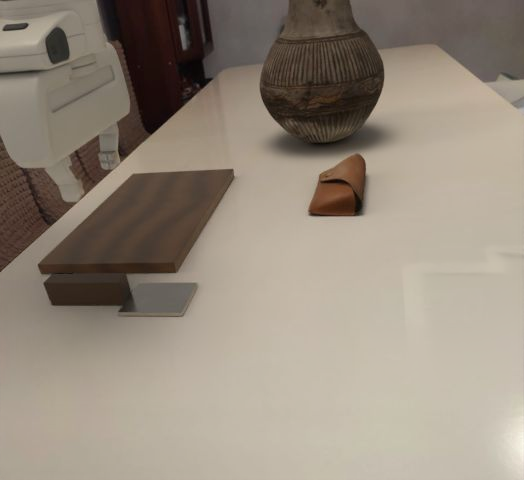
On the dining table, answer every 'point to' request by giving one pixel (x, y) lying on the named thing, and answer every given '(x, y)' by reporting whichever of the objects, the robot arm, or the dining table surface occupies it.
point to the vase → (321, 72)
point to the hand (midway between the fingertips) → (94, 182)
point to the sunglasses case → (340, 189)
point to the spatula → (120, 293)
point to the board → (142, 225)
